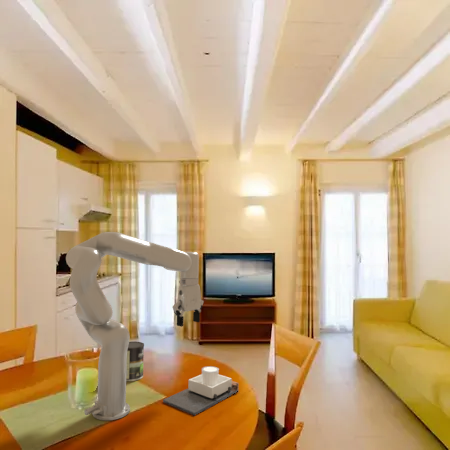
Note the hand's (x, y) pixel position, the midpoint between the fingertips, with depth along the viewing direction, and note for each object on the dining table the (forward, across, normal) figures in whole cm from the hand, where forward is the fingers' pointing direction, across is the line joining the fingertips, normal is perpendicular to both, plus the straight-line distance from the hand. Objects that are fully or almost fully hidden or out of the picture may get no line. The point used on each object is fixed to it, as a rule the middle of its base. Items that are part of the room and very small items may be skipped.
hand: (188, 323), depth 155 cm
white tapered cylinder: (+24, +3, -10) cm, 26 cm away
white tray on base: (+25, +3, -10) cm, 27 cm away
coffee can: (+26, -7, +27) cm, 38 cm away
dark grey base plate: (+26, -2, -10) cm, 28 cm away
